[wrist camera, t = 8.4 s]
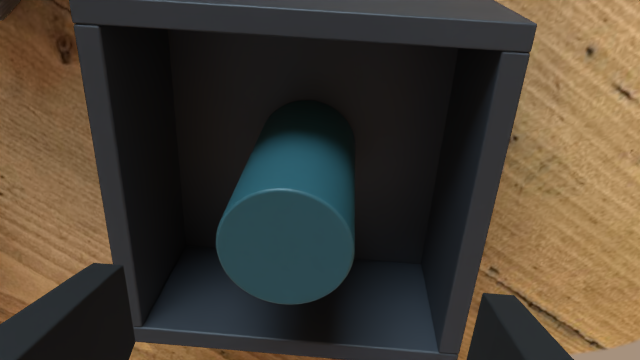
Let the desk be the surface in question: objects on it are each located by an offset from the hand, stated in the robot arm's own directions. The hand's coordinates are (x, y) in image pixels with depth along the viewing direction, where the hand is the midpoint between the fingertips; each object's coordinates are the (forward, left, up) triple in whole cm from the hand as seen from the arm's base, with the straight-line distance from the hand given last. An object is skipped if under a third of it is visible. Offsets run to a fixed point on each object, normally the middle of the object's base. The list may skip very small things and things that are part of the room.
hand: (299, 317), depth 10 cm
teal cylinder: (0, +1, -10) cm, 10 cm away
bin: (0, +1, -10) cm, 10 cm away
